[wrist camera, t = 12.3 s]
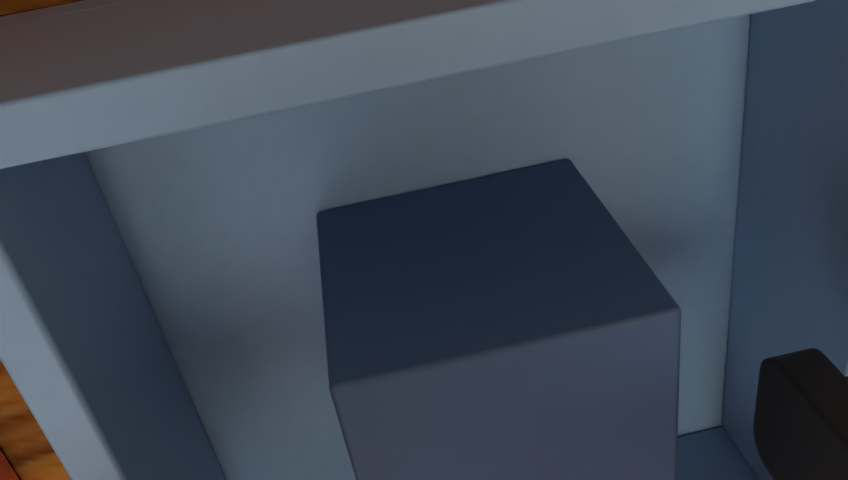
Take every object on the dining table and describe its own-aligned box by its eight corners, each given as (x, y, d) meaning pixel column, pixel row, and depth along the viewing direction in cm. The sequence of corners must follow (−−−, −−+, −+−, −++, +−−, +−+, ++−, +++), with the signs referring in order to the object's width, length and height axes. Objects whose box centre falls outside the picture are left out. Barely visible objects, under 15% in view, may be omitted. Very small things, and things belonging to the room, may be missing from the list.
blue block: (315, 210, 15) (328, 389, 10) (570, 156, 15) (684, 308, 11) (366, 401, 17) (393, 605, 13) (582, 352, 18) (677, 536, 13)
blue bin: (-6, 17, 13) (-140, 131, 9) (779, -138, 13) (993, -99, 9) (230, 535, 20) (217, 730, 16) (733, 418, 21) (843, 576, 17)
